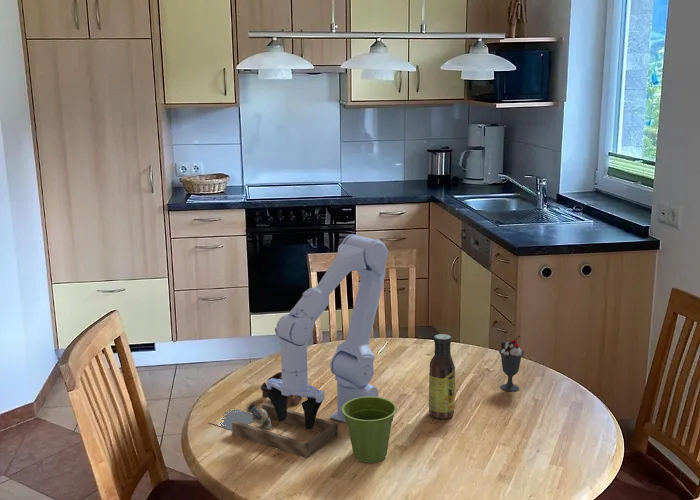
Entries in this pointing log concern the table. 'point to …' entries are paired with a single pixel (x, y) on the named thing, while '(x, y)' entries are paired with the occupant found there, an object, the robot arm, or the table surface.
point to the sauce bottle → (442, 379)
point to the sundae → (510, 362)
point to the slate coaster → (236, 418)
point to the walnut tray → (285, 443)
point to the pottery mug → (295, 399)
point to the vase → (260, 416)
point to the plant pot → (369, 426)
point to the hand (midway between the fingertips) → (296, 424)
